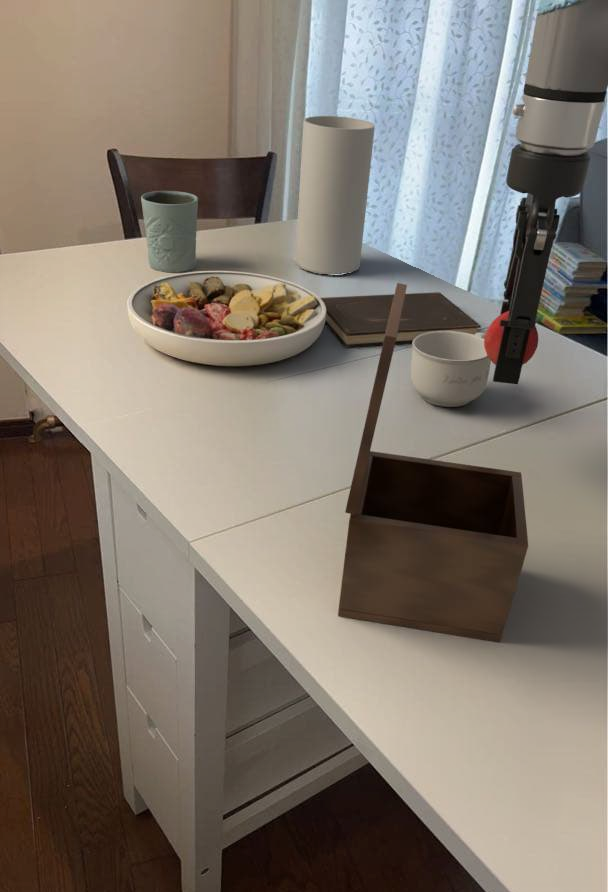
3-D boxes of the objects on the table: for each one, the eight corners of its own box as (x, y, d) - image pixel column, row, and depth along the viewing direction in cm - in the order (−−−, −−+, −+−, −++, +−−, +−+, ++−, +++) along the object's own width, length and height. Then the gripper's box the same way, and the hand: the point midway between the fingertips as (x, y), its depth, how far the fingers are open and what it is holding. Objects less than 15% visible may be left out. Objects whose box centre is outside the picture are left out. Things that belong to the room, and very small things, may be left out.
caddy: (497, 563, 81) (521, 472, 75) (500, 642, 72) (528, 545, 65) (352, 541, 82) (364, 449, 76) (337, 616, 73) (349, 518, 67)
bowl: (183, 288, 139) (182, 242, 135) (347, 320, 132) (352, 272, 128) (91, 350, 116) (86, 296, 111) (284, 392, 109) (287, 337, 104)
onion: (475, 359, 93) (488, 292, 89) (524, 363, 93) (540, 295, 89) (482, 381, 89) (496, 311, 84) (534, 384, 89) (551, 314, 84)
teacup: (442, 422, 105) (453, 365, 100) (388, 390, 112) (396, 335, 107) (513, 399, 112) (527, 345, 107) (459, 370, 119) (469, 318, 114)
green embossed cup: (164, 277, 143) (161, 207, 136) (133, 261, 149) (129, 193, 142) (210, 267, 149) (209, 199, 142) (178, 253, 155) (176, 187, 148)
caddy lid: (407, 284, 66) (397, 282, 66) (396, 337, 57) (384, 335, 57) (369, 446, 76) (360, 444, 76) (354, 515, 66) (344, 512, 66)
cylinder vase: (326, 281, 147) (338, 131, 132) (281, 262, 154) (288, 118, 140) (372, 269, 154) (389, 126, 140) (328, 252, 162) (339, 114, 147)
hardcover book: (478, 339, 129) (481, 325, 128) (345, 347, 123) (346, 333, 122) (436, 303, 141) (438, 290, 140) (313, 310, 135) (314, 296, 134)
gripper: (509, 127, 85) (471, 335, 99) (517, 162, 70) (471, 401, 84) (581, 133, 84) (532, 342, 98) (605, 170, 69) (543, 410, 83)
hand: (504, 369), depth 91 cm, fingers closed on onion, 6 cm apart
